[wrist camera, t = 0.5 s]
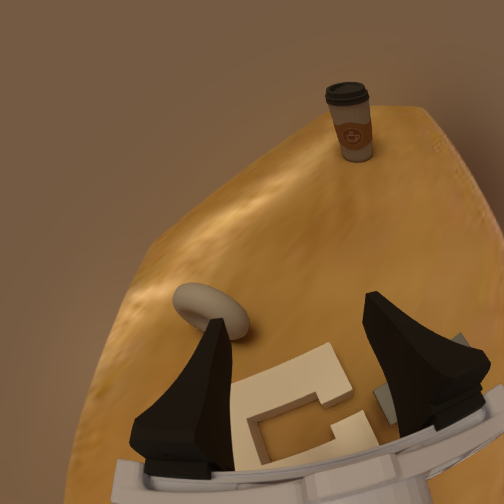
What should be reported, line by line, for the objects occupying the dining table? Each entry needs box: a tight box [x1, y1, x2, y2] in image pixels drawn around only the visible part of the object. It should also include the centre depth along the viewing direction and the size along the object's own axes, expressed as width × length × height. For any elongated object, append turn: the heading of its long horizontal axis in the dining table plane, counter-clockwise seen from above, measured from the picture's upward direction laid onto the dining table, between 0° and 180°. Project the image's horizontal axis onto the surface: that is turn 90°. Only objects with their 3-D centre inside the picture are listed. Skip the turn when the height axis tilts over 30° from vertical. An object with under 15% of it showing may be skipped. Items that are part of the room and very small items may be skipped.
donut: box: [172, 283, 250, 340], centre depth 33 cm, size 10×4×10 cm, turn 67°
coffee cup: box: [325, 82, 373, 162], centre depth 47 cm, size 8×8×15 cm
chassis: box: [230, 342, 380, 485], centre depth 24 cm, size 14×14×4 cm
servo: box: [373, 332, 470, 426], centre depth 21 cm, size 4×11×6 cm, turn 107°
